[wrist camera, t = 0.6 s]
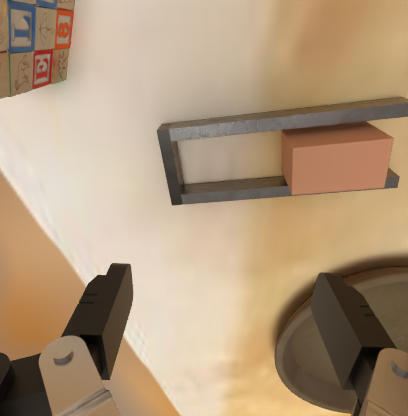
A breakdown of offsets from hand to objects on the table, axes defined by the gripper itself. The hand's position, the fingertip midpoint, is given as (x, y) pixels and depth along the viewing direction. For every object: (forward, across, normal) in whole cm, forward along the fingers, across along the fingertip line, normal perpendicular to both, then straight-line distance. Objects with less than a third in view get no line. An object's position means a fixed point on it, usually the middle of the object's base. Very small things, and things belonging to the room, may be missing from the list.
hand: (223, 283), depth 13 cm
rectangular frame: (+21, -7, 0) cm, 22 cm away
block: (+21, -11, -1) cm, 24 cm away
